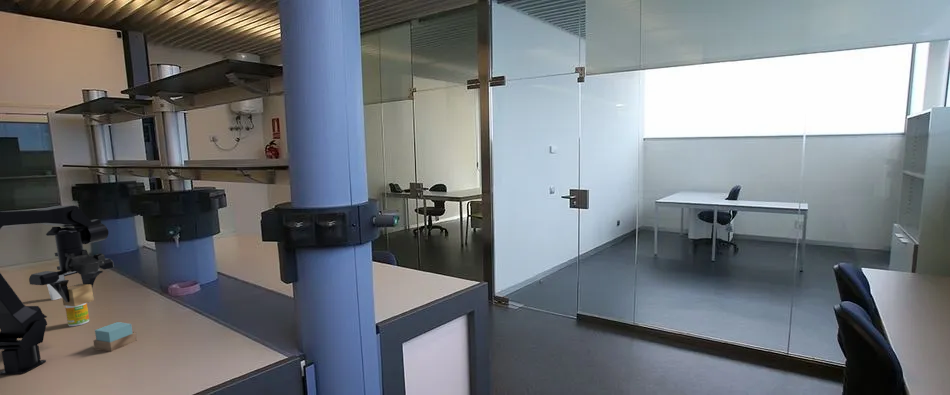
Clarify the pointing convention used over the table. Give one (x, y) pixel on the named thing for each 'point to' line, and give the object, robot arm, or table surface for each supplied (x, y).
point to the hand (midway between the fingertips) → (78, 298)
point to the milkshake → (53, 293)
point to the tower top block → (113, 332)
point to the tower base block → (115, 343)
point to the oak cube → (79, 295)
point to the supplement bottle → (77, 314)
